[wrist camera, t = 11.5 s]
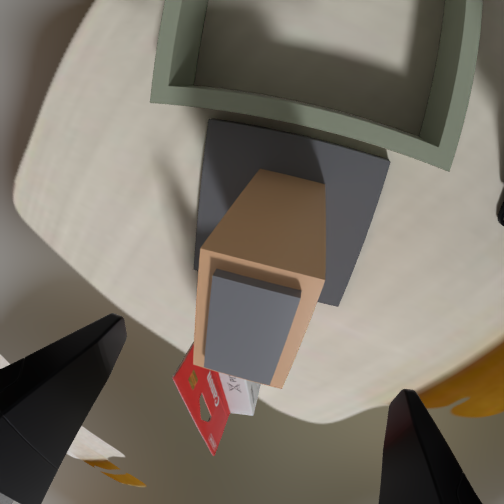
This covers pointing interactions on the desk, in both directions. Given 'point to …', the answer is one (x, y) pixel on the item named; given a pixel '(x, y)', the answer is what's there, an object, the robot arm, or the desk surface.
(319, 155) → the rubber mat
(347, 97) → the desk surface
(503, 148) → the desk surface
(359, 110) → the desk surface
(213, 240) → the box
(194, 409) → the ink cartridge box
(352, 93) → the desk surface
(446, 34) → the case
